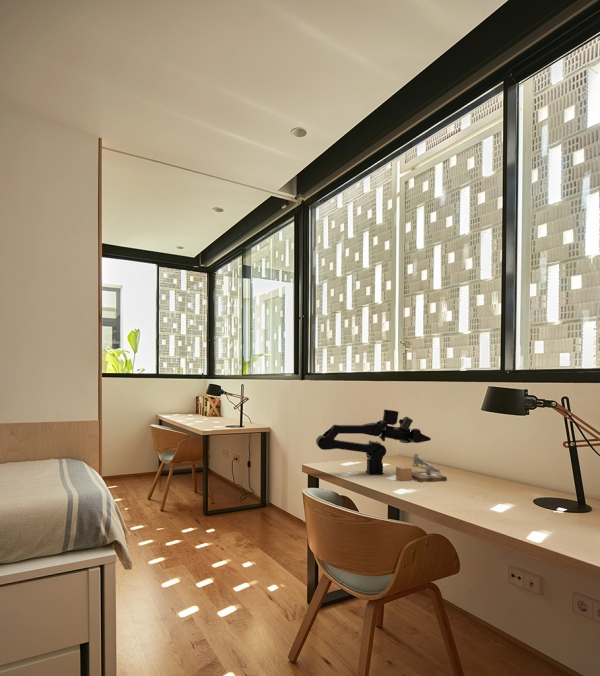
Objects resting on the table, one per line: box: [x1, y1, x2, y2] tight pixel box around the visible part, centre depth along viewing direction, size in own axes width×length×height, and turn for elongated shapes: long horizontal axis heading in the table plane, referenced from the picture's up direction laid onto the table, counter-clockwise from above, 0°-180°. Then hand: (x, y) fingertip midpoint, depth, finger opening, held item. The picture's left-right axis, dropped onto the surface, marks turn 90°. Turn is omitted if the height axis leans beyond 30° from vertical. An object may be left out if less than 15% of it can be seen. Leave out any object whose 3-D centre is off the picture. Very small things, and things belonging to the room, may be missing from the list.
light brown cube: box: [395, 465, 413, 481], centre depth 201 cm, size 5×5×5 cm
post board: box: [412, 464, 448, 483], centre depth 203 cm, size 13×13×6 cm
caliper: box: [412, 453, 442, 473], centre depth 225 cm, size 20×1×6 cm, turn 23°
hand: (426, 439), depth 217 cm, fingers open, 9 cm apart
